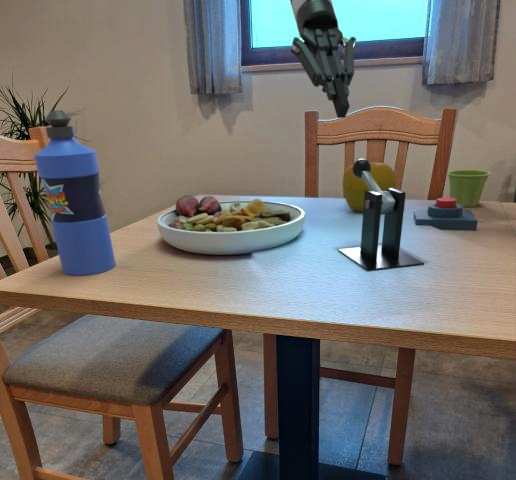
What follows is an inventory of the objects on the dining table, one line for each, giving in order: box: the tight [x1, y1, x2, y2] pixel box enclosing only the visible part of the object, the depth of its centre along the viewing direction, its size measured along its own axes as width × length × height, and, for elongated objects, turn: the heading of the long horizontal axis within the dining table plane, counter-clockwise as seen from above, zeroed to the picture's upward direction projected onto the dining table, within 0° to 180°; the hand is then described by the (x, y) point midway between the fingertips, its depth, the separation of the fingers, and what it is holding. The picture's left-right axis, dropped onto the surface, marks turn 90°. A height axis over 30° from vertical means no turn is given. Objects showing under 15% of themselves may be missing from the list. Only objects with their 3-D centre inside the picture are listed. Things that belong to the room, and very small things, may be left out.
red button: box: [435, 197, 457, 208], centre depth 99 cm, size 4×4×2 cm
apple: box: [341, 161, 397, 213], centre depth 114 cm, size 13×13×11 cm
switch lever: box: [352, 158, 395, 216], centre depth 78 cm, size 13×3×3 cm, turn 14°
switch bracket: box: [337, 188, 425, 272], centre depth 77 cm, size 12×10×12 cm
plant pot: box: [447, 169, 491, 208], centre depth 111 cm, size 9×9×9 cm
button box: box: [412, 202, 478, 232], centre depth 100 cm, size 12×10×4 cm
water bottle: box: [33, 110, 116, 277], centre depth 77 cm, size 9×9×25 cm
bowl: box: [156, 194, 306, 256], centre depth 95 cm, size 30×30×8 cm
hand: (343, 111), depth 84 cm, fingers closed
